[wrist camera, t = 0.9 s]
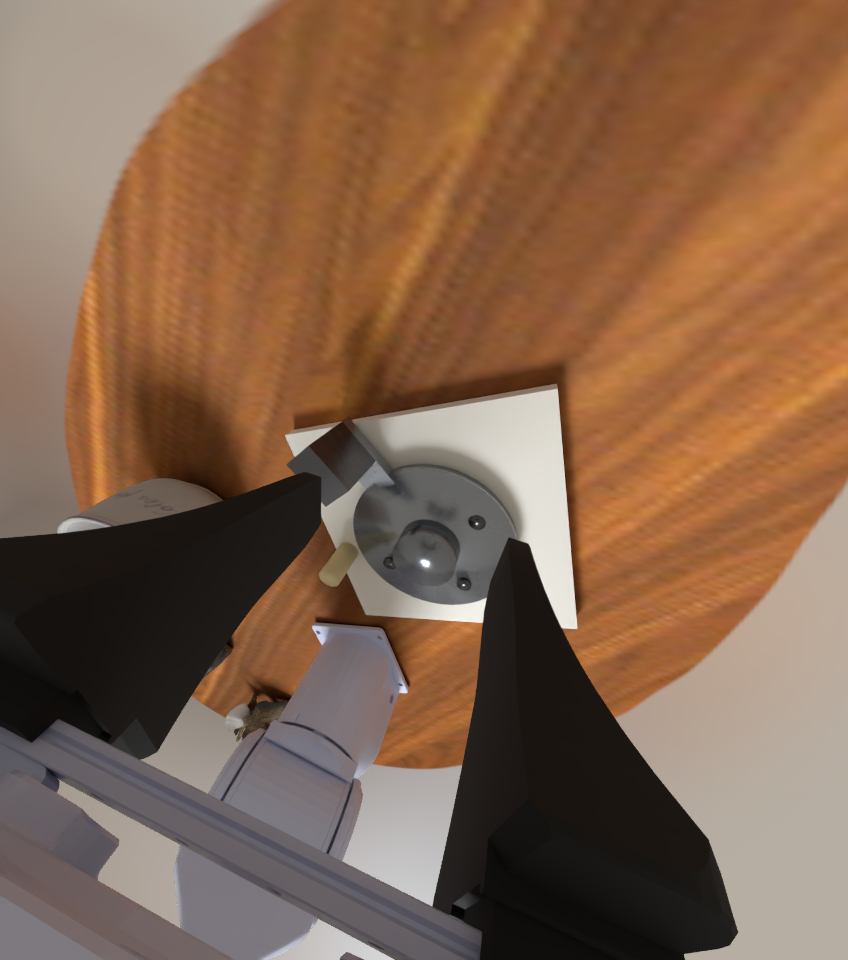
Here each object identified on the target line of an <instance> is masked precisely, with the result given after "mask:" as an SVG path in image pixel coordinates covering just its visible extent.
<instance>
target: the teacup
mask: <svg viewBox="0 0 848 960" xmlns="http://www.w3.org/2000/svg"><path fill="white" fill-rule="evenodd" d="M219 501H223V500H222V499H221V498H220V497H219V496H217V495H216V494H215V493H213V492H211V491H210V490H208V489H206V488H204V487H201V486H199V485H196V484H192V483H188V482H184V481H180V480H176V479H170V478H158V479H151V480H146V481H143V482H140V483H138V484H135V485H133V486H131V487H128V488H126V489H124V490H122V491H120V492H118V493H116V494H115V495H113V496H111V497H109V498H107V499H105V500H103V501H101V502H100V503H98V504H96V505H94V506H93V507H91V508H89V509H87V510H86V511H84V512H82V513H80V514H79V515H76V516H72V517H69V518H67V519H66V520H64V521H63V522H62V523H61V524H60V525H59V527H58V531H57V534H58V533H67V532H75V531H83V530H91V529H98V528H104V527H111V526H117V525H123V524H128V523H133V522H139V521H144V520H149V519H154V518H160V517H164V516H169V515H173V514H177V513H181V512H185V511H189V510H193V509H196V508H200V507H203V506H207V505H210V504H213V503H216V502H219Z"/></svg>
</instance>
